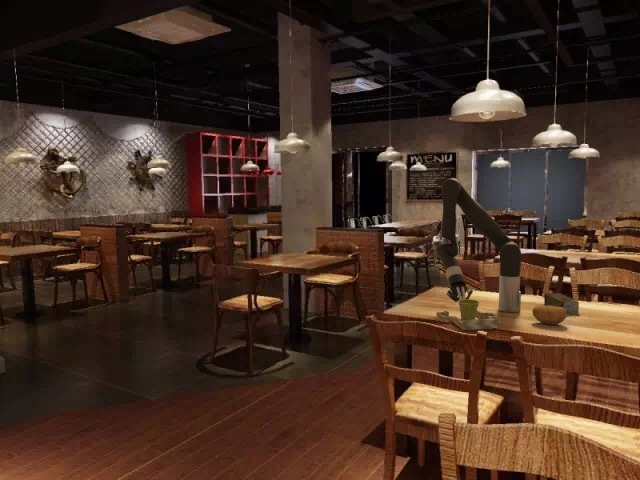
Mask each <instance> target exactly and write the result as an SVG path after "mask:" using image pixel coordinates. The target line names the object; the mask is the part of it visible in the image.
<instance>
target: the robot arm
mask: <svg viewBox="0 0 640 480" xmlns="http://www.w3.org/2000/svg"><path fill="white" fill-rule="evenodd" d="M440 189H441V197H442V219H441V233H440V234H441V236H440V237H441V239H444V240H448V241H449V243H439V244H438V245H437V247H436V254H437V256H438V258H439V260H440V261H441V263H442V264H443V266H444V270H445V272H446V279H447V282H448V286H449V290H447V292H446V296H447V297H449V298H450V299H451V300H452V301H453V302H455V303H458V300H462V299H470V297H471V296H472V294H473V292H474V290H472V289H471V290H470V289H469V287H468V286H467V285H466V280H465V278H464V277H465V276H464V275H463V272H462V269H461V267H460V266H461V265H460V263H459V260H458V258H457V256H458V255H459V246H458V243H457V242H458V241H457V211H456V210H457V205H458V207H459V208H460V210H461V211H462V212H463V215H464V216H465V217H466V219H467V220H468V221H469V223H470V224H471V225H472V226H473V227H474V228H475V229H476V230H477V231H478V232H479V233H480V234H481V235H483V237H485V238H486V239H487V240H489V241H490V242H491V244H493V246H494V247H495V248H496V249H497V251H498V252H499V254H500V260H499V285H498V291H499V292H498V310H499V311H501V312H504V313H517V312H521V304H522V303H521V302H522V301H521V300H522V291H520V285H521V283H520V281H521V266H522V250H521V248H520V246H519V244H517V242H515V241H514V240H512V239H511V238H510V237H509V236H508V235H507V234H506V233H505V232H504V231H503V230H502V229H501V227H500V226H499V224H498V223H497V221H495V219H494V218H493V217H492V216H491V214H490V213H488V211H487V210H486V209H485V208H484V207H483V206H482V205H481V204H479V202H477V200H475V199H474V198H473V197H472V196H471V195H470V194H469V193H468V191H467V189H465V188H464V186H463V185H462V184H461V181H459V180H458V179H457V178H455V177H451V178H447V179H445V180H444V181H443V182H442V184H441V187H440ZM466 293H467V294H466ZM466 295H467V296H466Z"/></svg>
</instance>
